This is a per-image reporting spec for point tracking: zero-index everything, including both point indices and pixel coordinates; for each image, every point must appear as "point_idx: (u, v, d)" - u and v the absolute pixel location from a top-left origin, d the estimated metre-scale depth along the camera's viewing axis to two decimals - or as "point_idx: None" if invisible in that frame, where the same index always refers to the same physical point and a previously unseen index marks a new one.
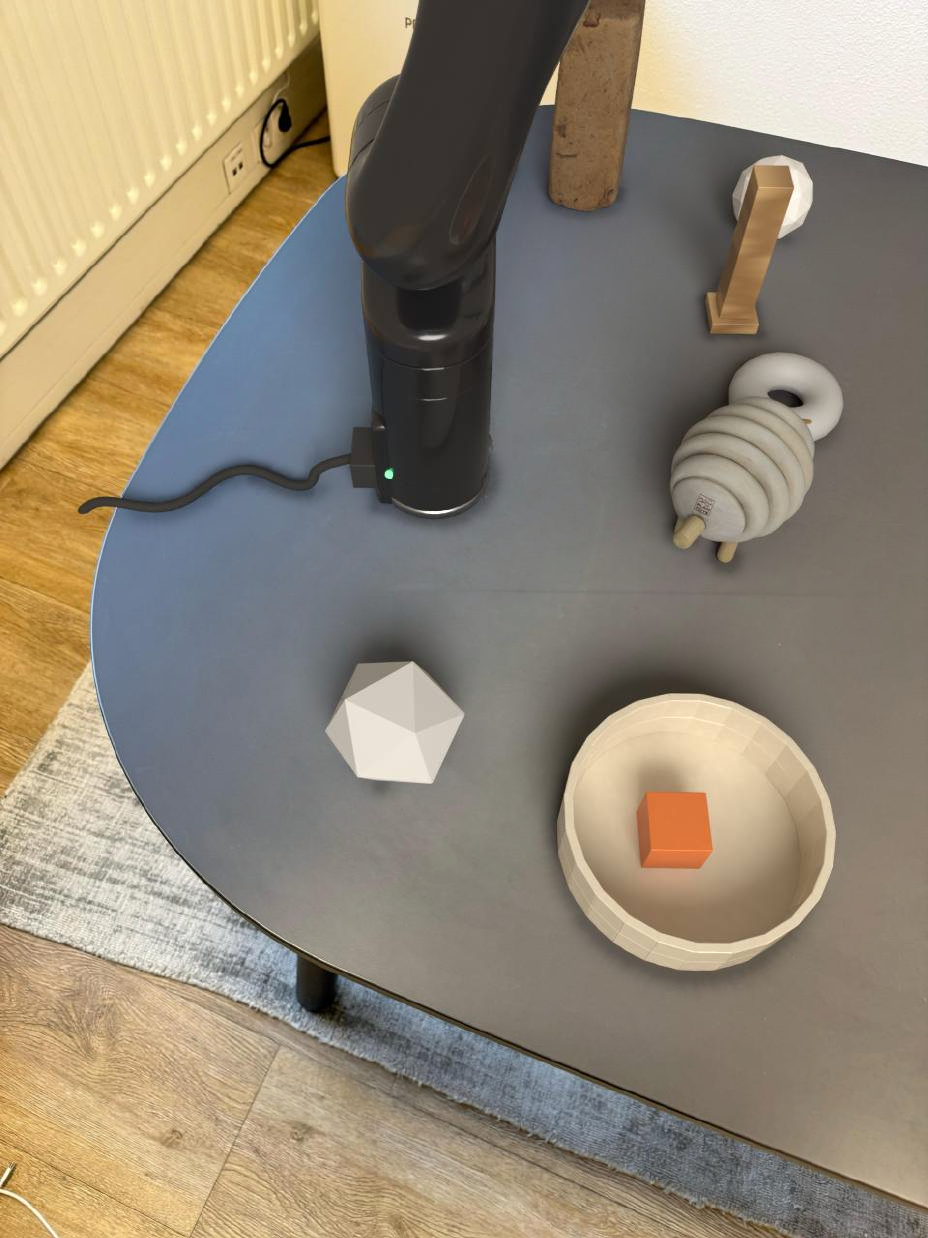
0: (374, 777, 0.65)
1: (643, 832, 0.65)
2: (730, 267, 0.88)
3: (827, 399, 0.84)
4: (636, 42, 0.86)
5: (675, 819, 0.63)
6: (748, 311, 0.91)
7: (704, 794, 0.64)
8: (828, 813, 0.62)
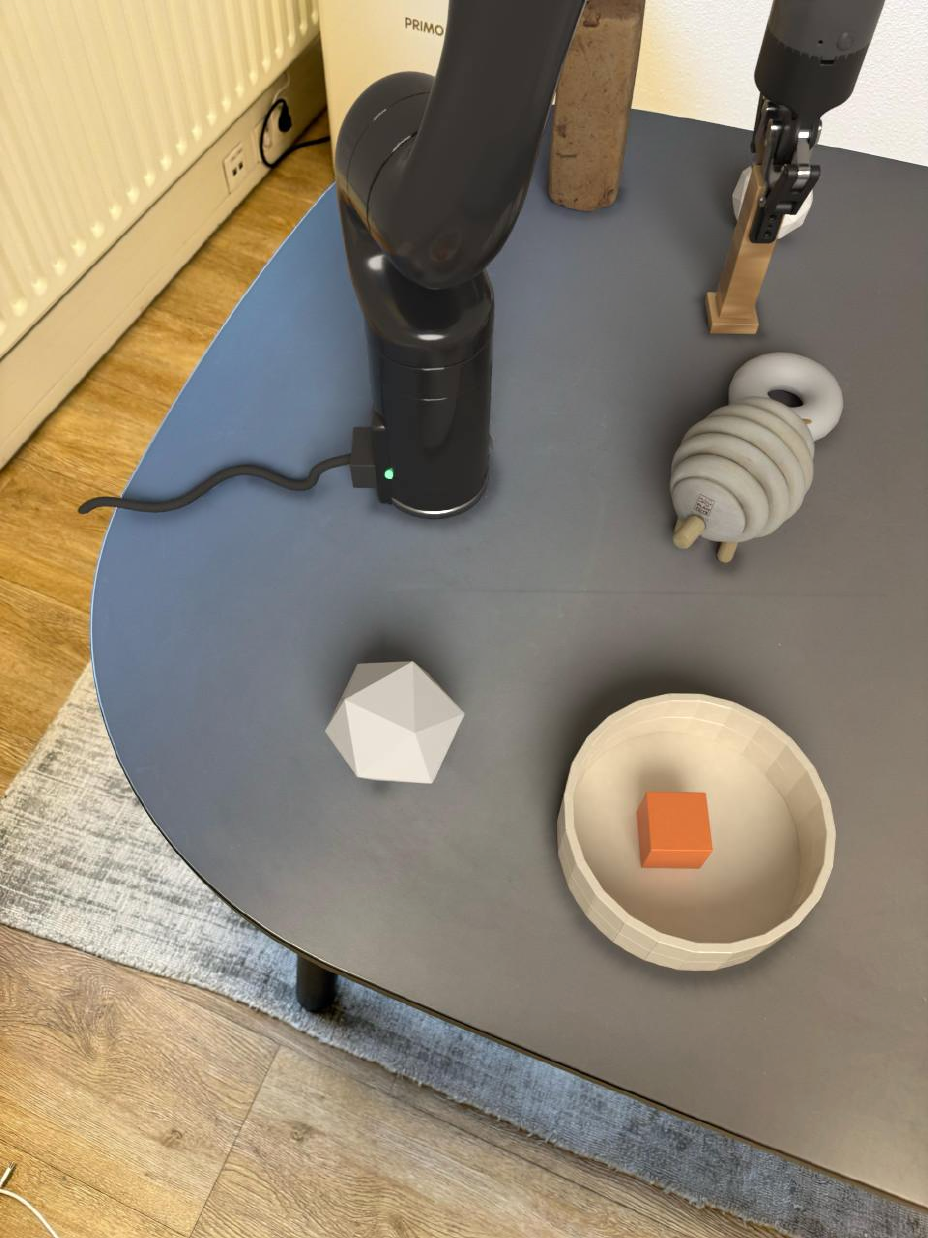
0: (374, 777, 0.65)
1: (643, 832, 0.65)
2: (730, 267, 0.88)
3: (827, 399, 0.84)
4: (636, 42, 0.86)
5: (675, 819, 0.63)
6: (748, 311, 0.91)
7: (704, 794, 0.64)
8: (828, 813, 0.62)
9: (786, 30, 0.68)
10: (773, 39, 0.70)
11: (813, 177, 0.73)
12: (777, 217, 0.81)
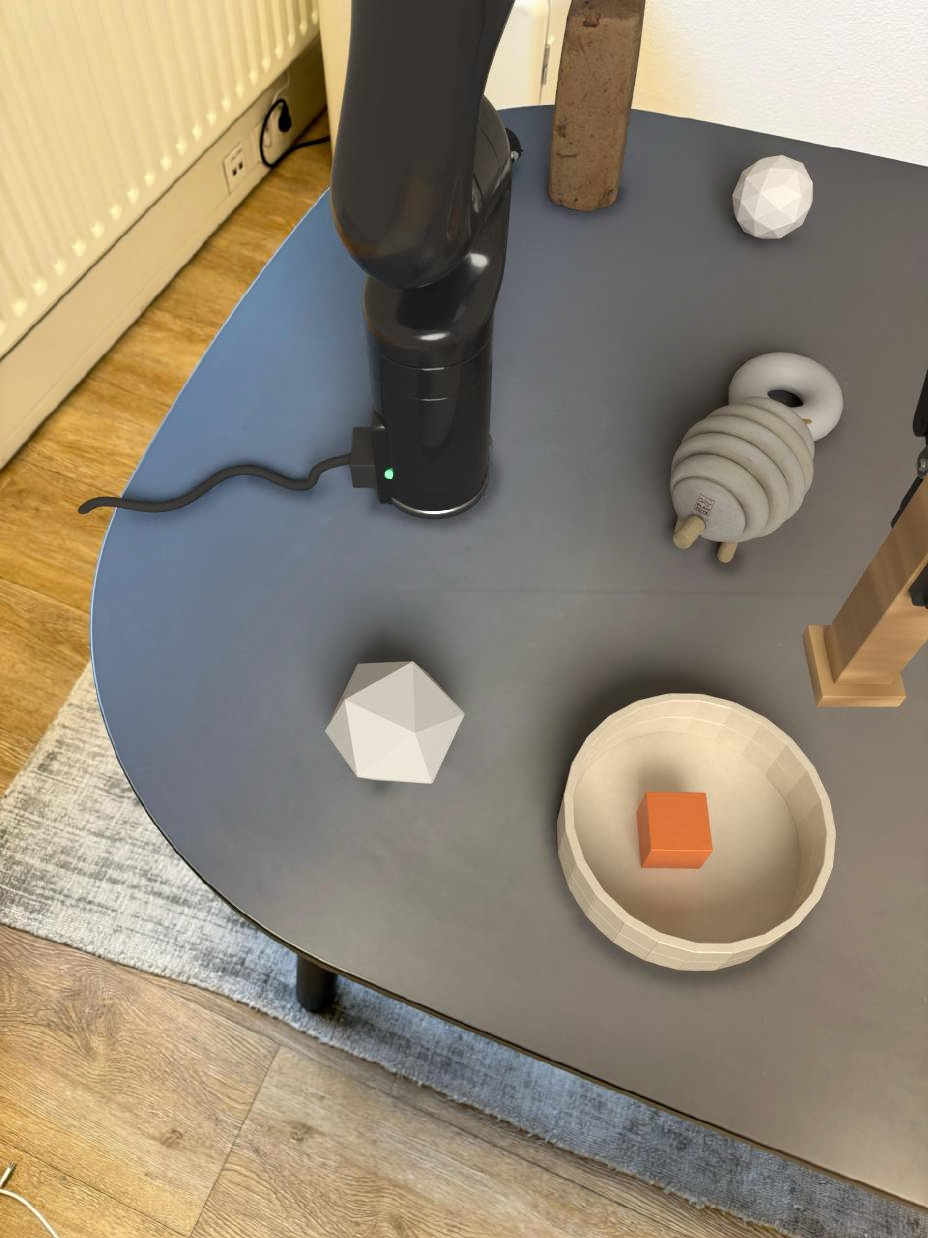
0: (374, 777, 0.65)
1: (643, 832, 0.65)
2: (863, 618, 0.47)
3: (827, 399, 0.84)
4: (636, 42, 0.86)
5: (675, 819, 0.63)
6: (888, 677, 0.50)
7: (704, 794, 0.64)
8: (828, 813, 0.62)
9: None
10: None
11: None
12: None
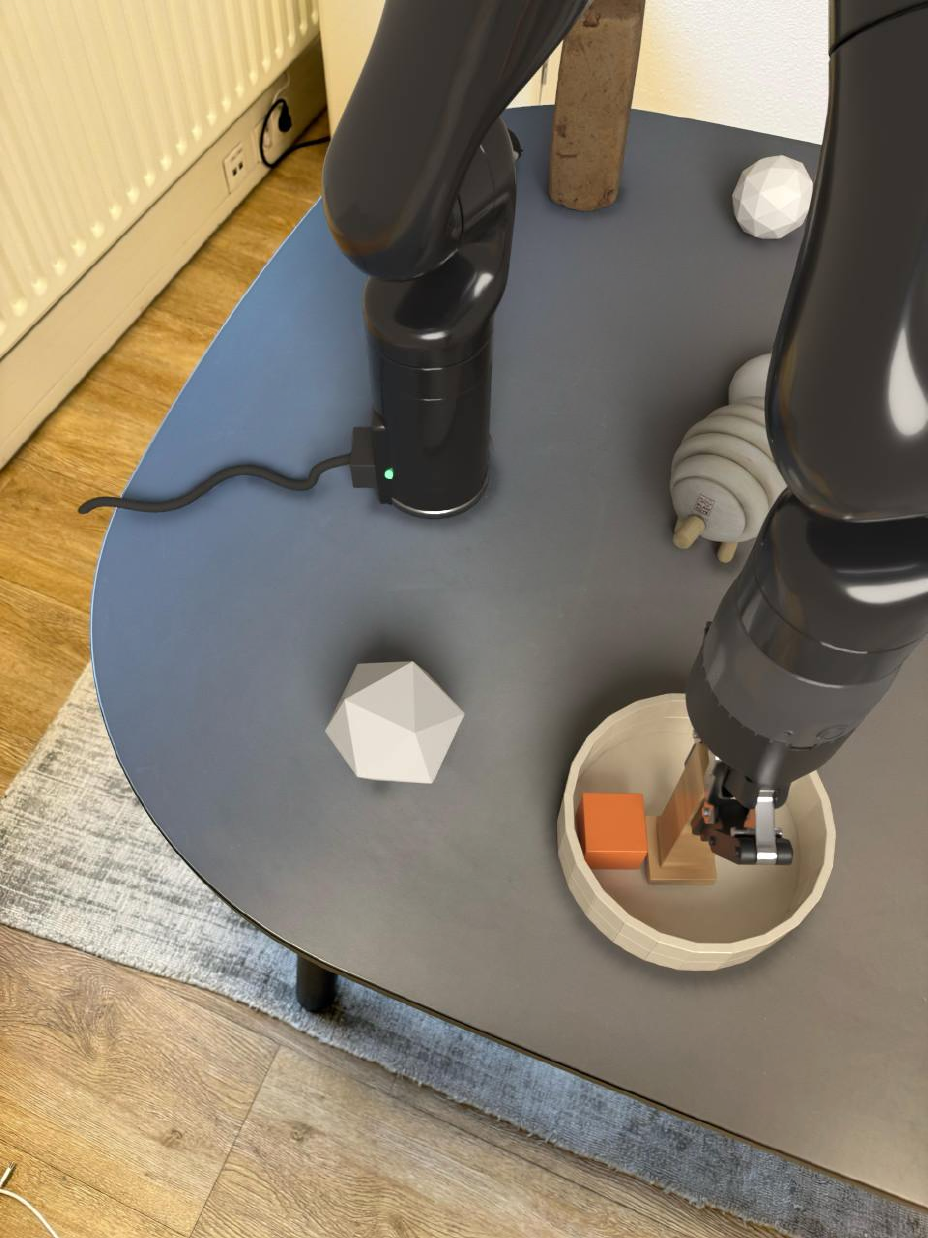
0: (374, 777, 0.65)
1: (580, 833, 0.65)
2: (671, 828, 0.60)
3: None
4: (636, 42, 0.86)
5: (611, 821, 0.63)
6: (701, 865, 0.63)
7: (641, 795, 0.64)
8: (828, 813, 0.62)
9: (731, 701, 0.40)
10: (711, 693, 0.42)
11: (781, 864, 0.45)
12: None
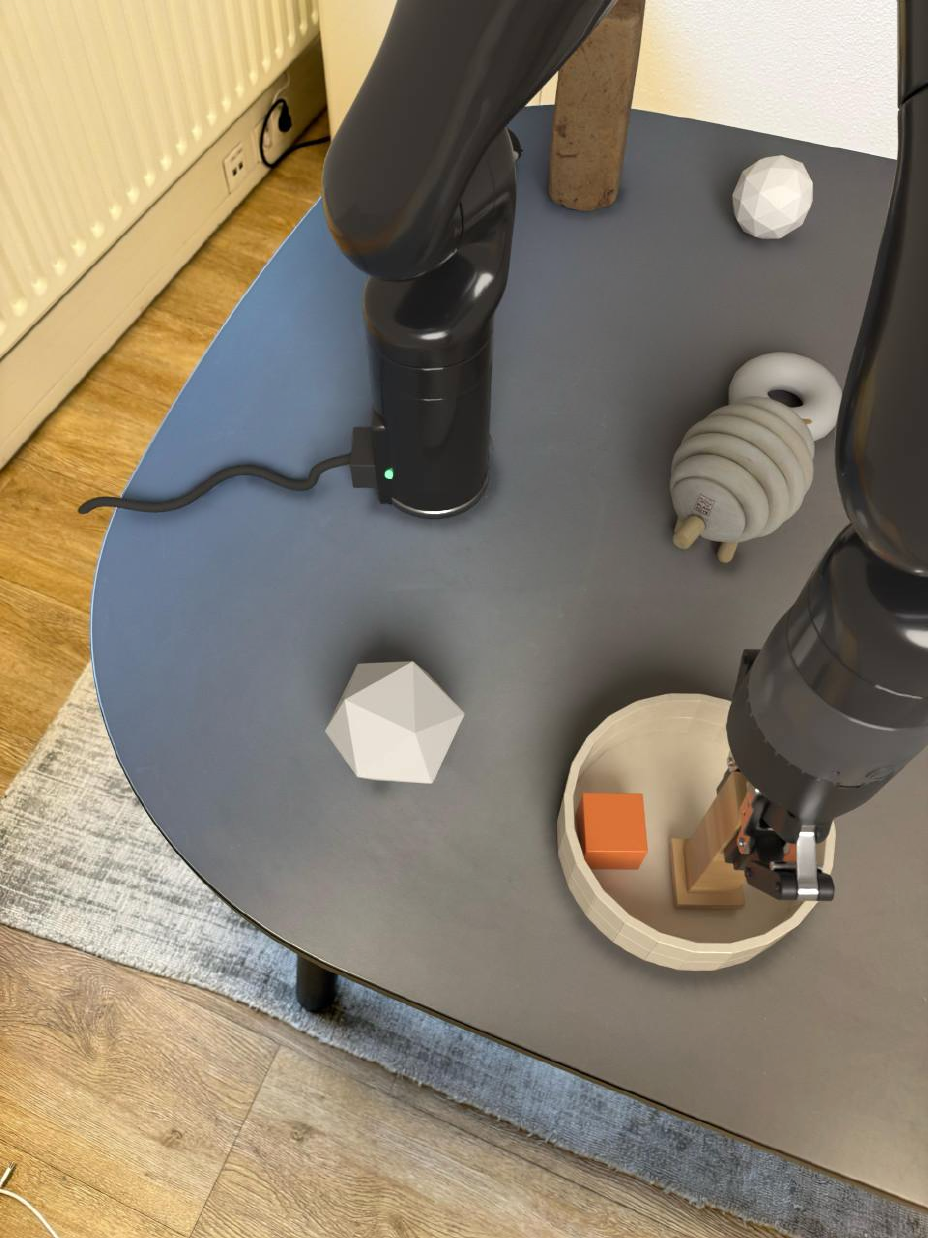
0: (374, 777, 0.65)
1: (580, 833, 0.65)
2: (701, 854, 0.59)
3: (827, 399, 0.84)
4: (636, 42, 0.86)
5: (611, 821, 0.63)
6: (729, 890, 0.62)
7: (641, 795, 0.64)
8: None
9: (778, 738, 0.40)
10: (757, 729, 0.41)
11: (822, 900, 0.45)
12: None
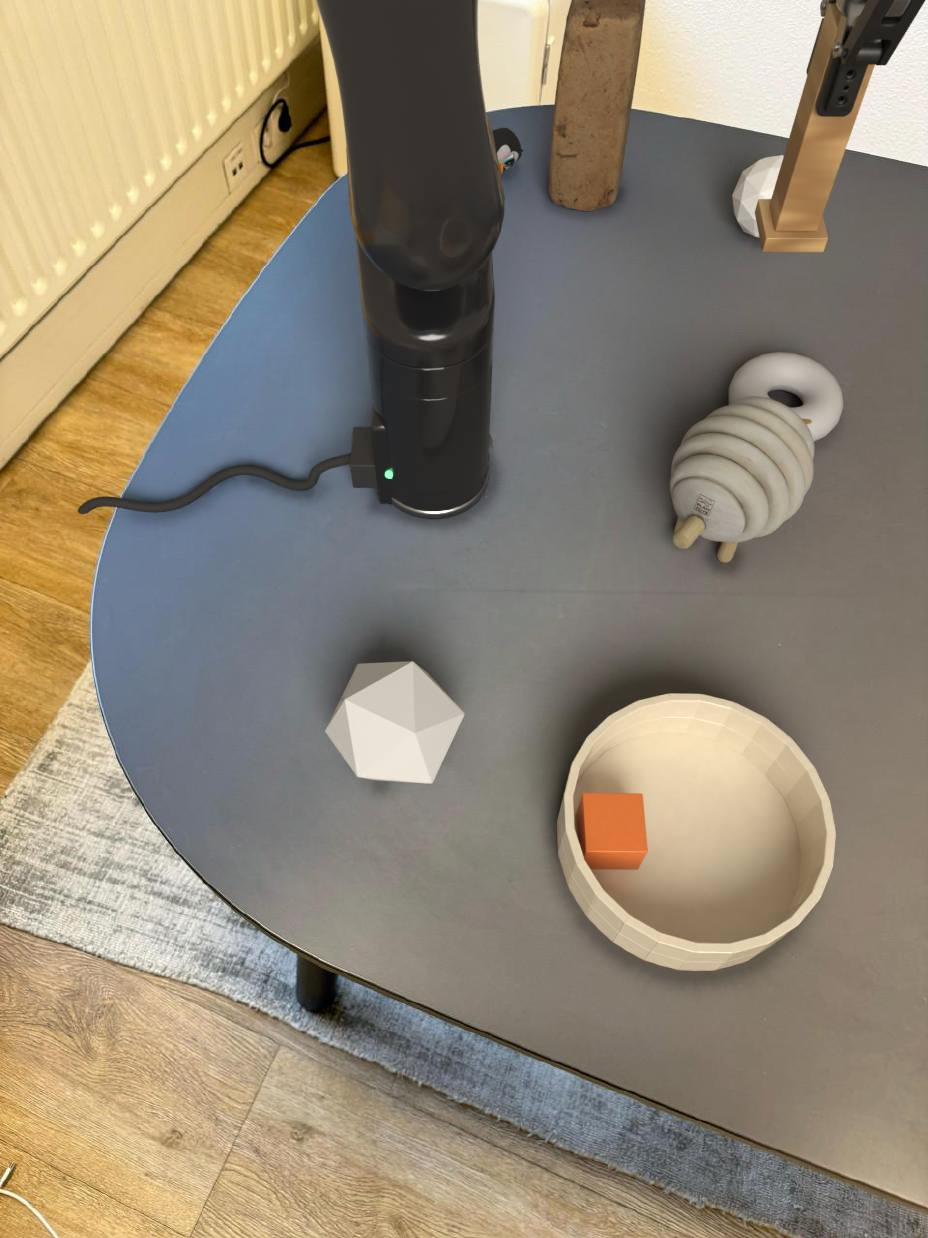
0: (374, 777, 0.65)
1: (580, 833, 0.65)
2: (792, 157, 0.65)
3: (827, 399, 0.84)
4: (636, 42, 0.86)
5: (611, 821, 0.63)
6: (814, 220, 0.68)
7: (641, 795, 0.64)
8: (828, 813, 0.62)
9: None
10: None
11: None
12: (857, 73, 0.58)
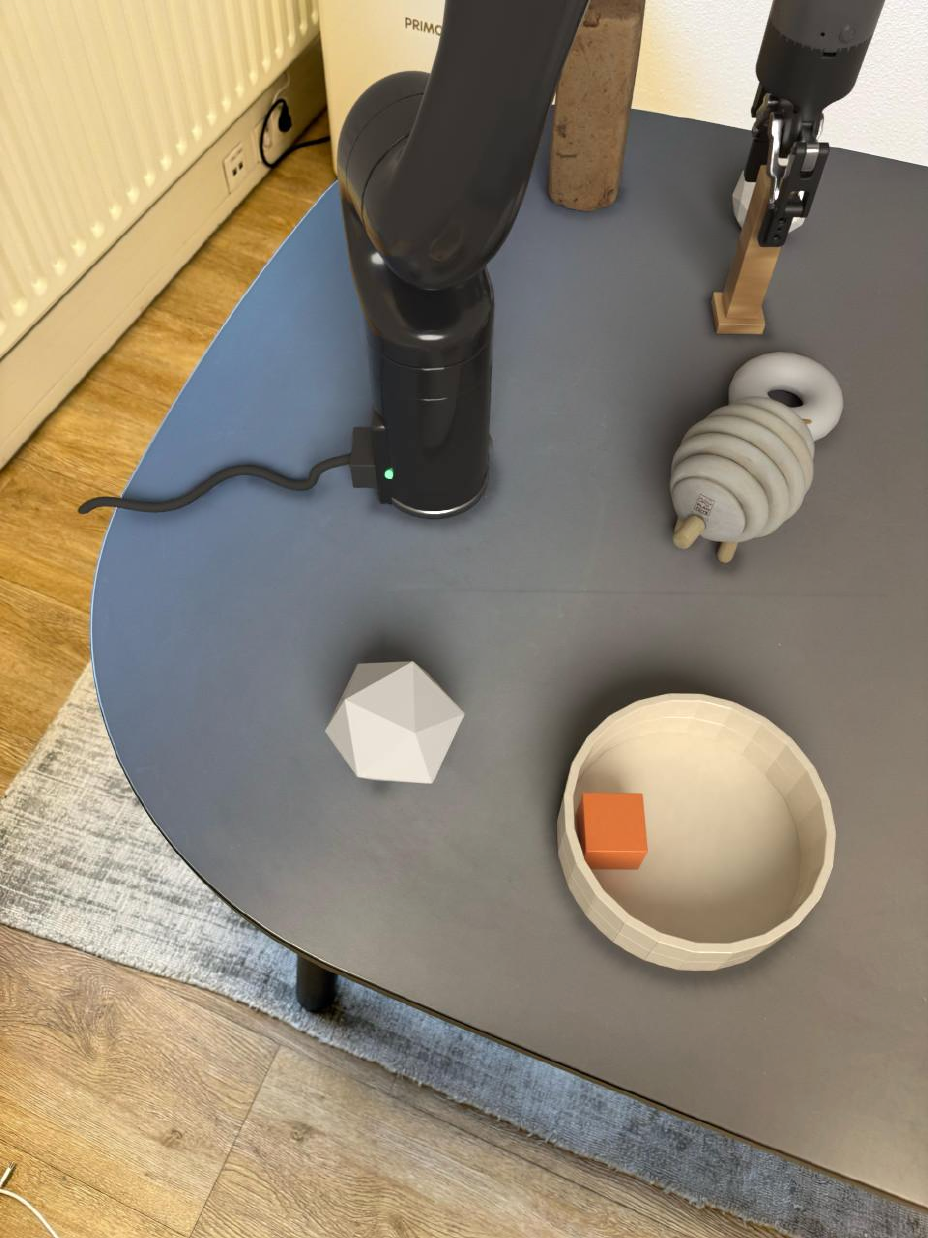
0: (374, 777, 0.65)
1: (580, 833, 0.65)
2: (737, 267, 0.88)
3: (827, 399, 0.84)
4: (636, 42, 0.86)
5: (611, 821, 0.63)
6: (754, 311, 0.91)
7: (641, 795, 0.64)
8: (828, 813, 0.62)
9: (788, 22, 0.68)
10: (775, 31, 0.69)
11: (823, 151, 0.71)
12: (786, 220, 0.78)
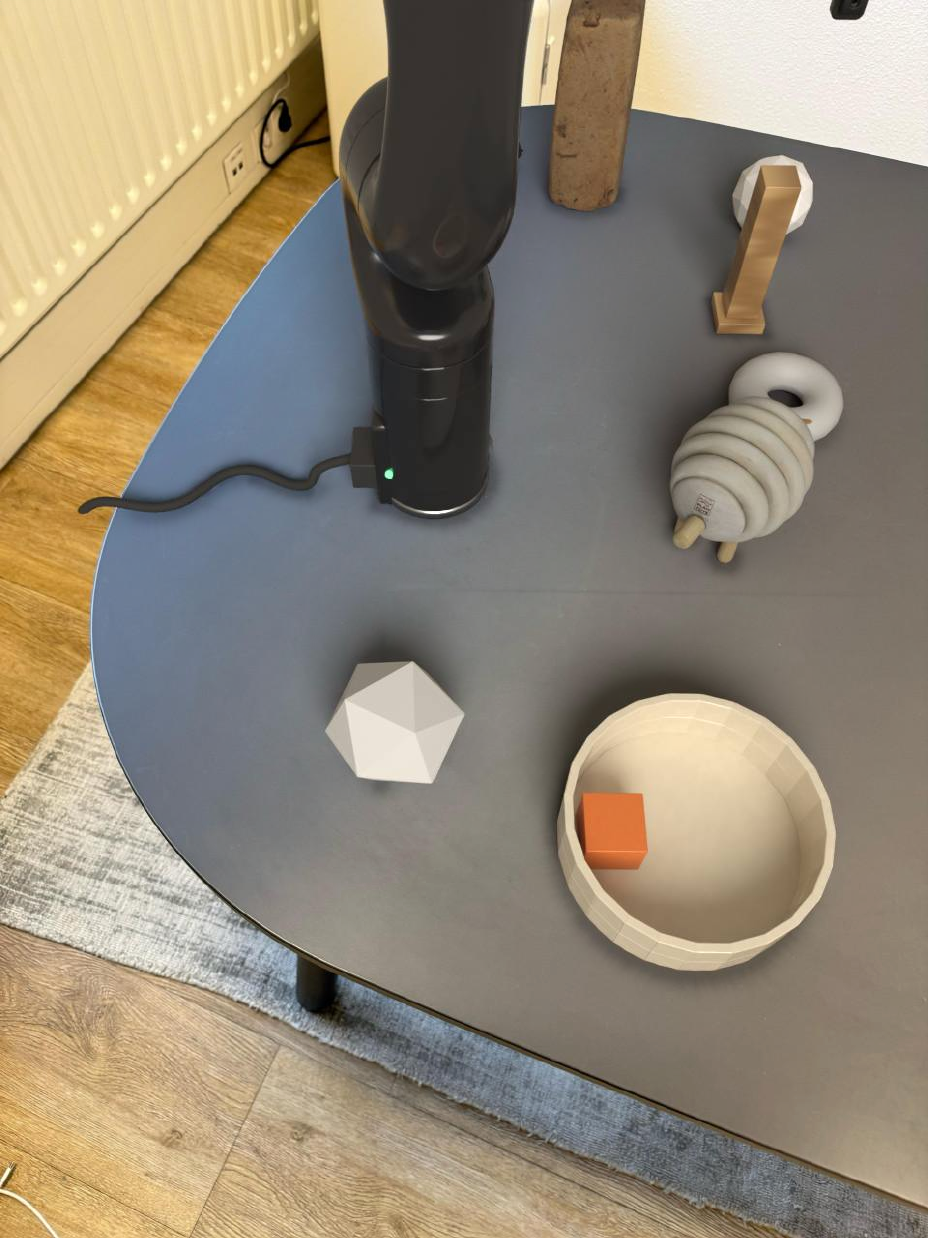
0: (374, 777, 0.65)
1: (580, 833, 0.65)
2: (737, 267, 0.88)
3: (827, 399, 0.84)
4: (636, 42, 0.86)
5: (611, 821, 0.63)
6: (754, 311, 0.91)
7: (641, 795, 0.64)
8: (828, 813, 0.62)
9: None
10: None
11: None
12: None
